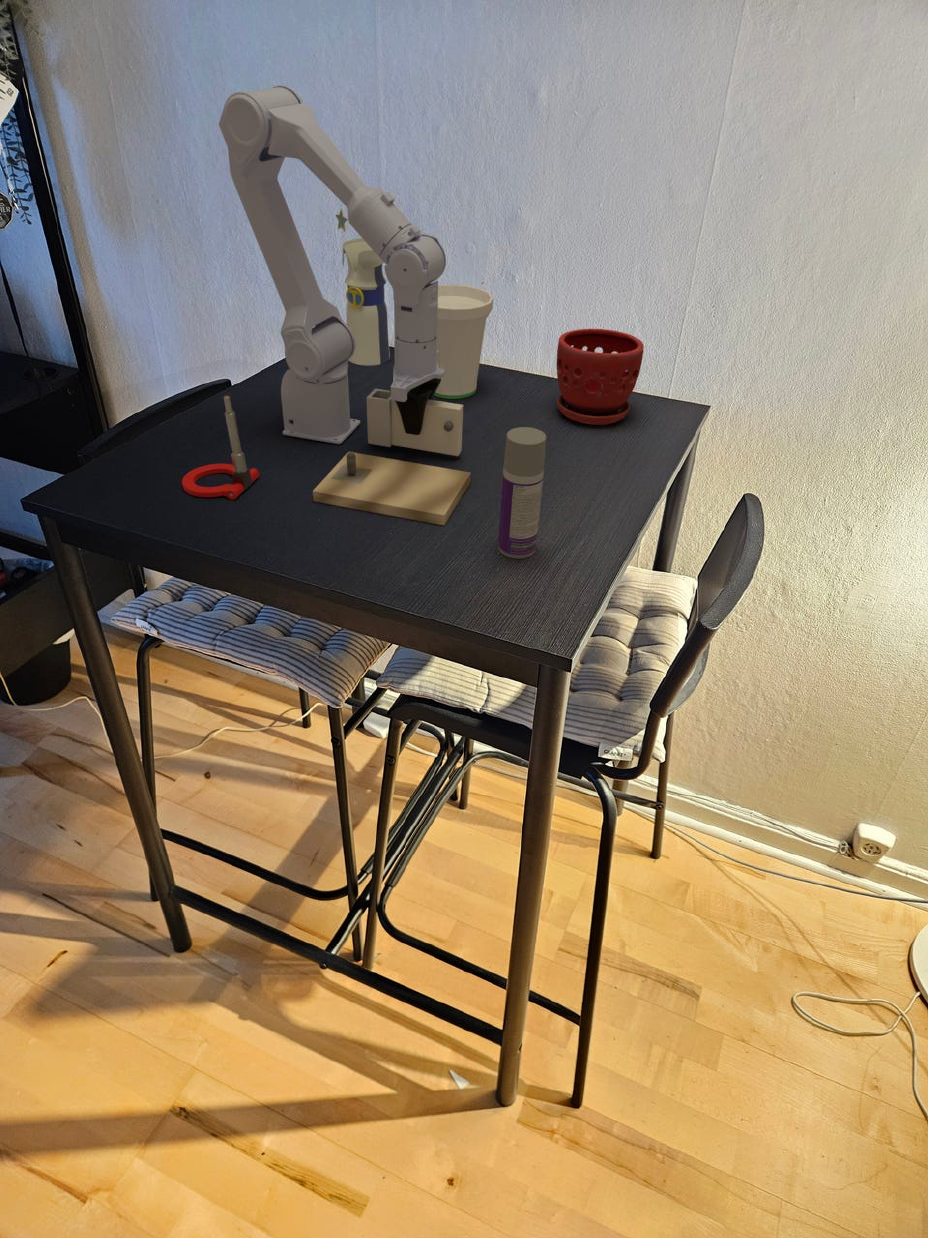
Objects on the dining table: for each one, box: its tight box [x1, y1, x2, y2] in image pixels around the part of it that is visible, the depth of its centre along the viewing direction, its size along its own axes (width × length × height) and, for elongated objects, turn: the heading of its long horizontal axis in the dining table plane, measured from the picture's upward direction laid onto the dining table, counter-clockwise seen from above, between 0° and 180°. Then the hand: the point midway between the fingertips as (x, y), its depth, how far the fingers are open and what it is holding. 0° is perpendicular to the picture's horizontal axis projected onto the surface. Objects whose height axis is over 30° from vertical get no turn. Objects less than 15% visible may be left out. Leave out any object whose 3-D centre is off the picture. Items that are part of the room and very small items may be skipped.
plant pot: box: [556, 328, 645, 426], centre depth 131 cm, size 13×13×12 cm
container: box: [497, 426, 547, 560], centre depth 98 cm, size 5×5×15 cm
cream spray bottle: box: [335, 208, 391, 366], centre depth 143 cm, size 8×9×25 cm
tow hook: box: [181, 395, 260, 501], centre depth 109 cm, size 8×13×9 cm
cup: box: [434, 284, 494, 400], centre depth 136 cm, size 12×12×15 cm
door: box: [366, 388, 464, 457], centre depth 119 cm, size 13×3×7 cm, turn 74°
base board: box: [312, 451, 472, 526], centre depth 111 cm, size 18×12×5 cm, turn 74°
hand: (415, 429), depth 120 cm, fingers closed on door, 2 cm apart
